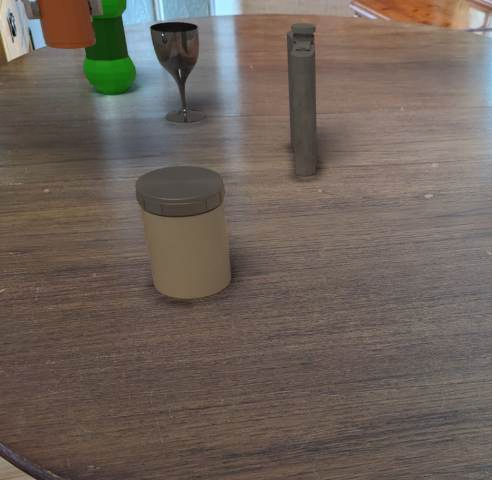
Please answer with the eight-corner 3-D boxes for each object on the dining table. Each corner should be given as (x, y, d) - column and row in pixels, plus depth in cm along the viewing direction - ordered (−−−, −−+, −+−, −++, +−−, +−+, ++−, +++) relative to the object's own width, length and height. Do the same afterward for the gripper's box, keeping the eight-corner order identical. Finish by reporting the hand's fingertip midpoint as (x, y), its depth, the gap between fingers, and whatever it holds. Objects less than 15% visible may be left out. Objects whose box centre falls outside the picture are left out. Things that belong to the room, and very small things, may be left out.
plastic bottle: (76, 88, 143) (46, -58, 128) (126, 79, 149) (103, -61, 134) (98, 101, 137) (69, -51, 122) (150, 92, 143) (128, -54, 128)
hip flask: (290, 140, 124) (285, 12, 112) (314, 140, 125) (311, 13, 113) (295, 176, 112) (290, 37, 100) (321, 176, 112) (319, 37, 100)
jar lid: (154, 223, 74) (151, 205, 73) (127, 190, 81) (124, 174, 79) (237, 205, 79) (236, 189, 77) (206, 176, 85) (204, 160, 84)
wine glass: (154, 119, 130) (140, 29, 121) (177, 107, 136) (165, 20, 127) (194, 125, 128) (183, 34, 119) (215, 112, 134) (206, 24, 125)
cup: (51, 50, 91) (36, -21, 86) (40, 39, 95) (25, -30, 90) (101, 46, 94) (89, -23, 89) (88, 36, 98) (76, -32, 93)
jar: (168, 306, 81) (152, 210, 74) (143, 271, 87) (126, 179, 80) (243, 287, 85) (235, 194, 78) (214, 255, 91) (204, 166, 84)
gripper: (121, -115, 91) (138, 6, 99) (-62, -118, 81) (-26, 16, 90) (137, -111, 87) (153, 16, 95) (-54, -113, 77) (-17, 27, 86)
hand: (65, 16), depth 92 cm, fingers closed on cup, 6 cm apart
